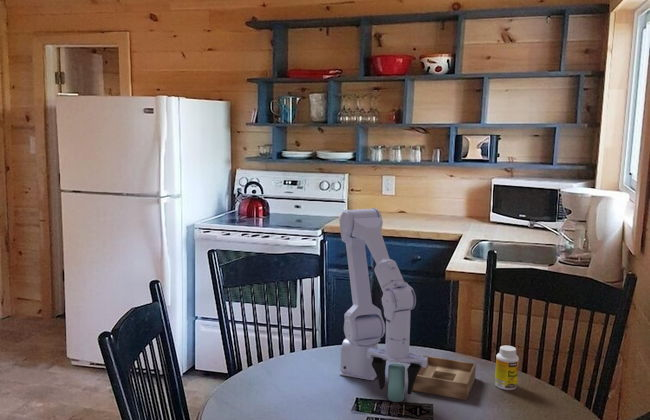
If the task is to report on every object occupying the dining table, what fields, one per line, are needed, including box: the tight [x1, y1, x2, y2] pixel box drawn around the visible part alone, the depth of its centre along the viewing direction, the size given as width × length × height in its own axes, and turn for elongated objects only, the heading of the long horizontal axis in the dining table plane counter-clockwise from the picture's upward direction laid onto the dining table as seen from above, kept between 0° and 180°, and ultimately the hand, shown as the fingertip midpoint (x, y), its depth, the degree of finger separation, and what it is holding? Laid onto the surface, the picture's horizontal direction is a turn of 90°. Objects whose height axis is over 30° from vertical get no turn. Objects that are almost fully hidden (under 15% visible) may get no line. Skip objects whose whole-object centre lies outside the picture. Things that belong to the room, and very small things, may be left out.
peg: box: [387, 363, 406, 403], centre depth 144 cm, size 4×4×8 cm
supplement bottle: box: [494, 345, 520, 391], centre depth 151 cm, size 6×6×10 cm
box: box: [412, 355, 477, 401], centre depth 152 cm, size 14×14×4 cm
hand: (396, 390), depth 144 cm, fingers open, 6 cm apart
